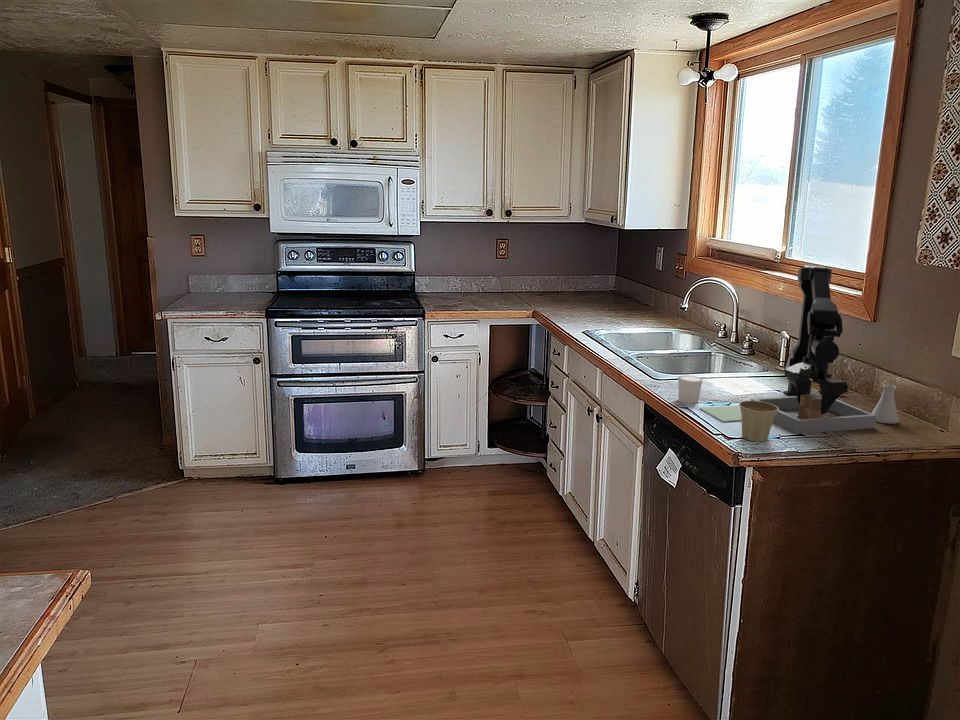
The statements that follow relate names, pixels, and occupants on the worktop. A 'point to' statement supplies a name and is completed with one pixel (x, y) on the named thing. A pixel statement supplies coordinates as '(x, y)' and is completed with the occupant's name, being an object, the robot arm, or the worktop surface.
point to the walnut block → (810, 406)
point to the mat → (724, 413)
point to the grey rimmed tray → (848, 420)
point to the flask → (887, 406)
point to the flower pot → (757, 419)
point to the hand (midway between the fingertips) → (811, 409)
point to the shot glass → (689, 389)
